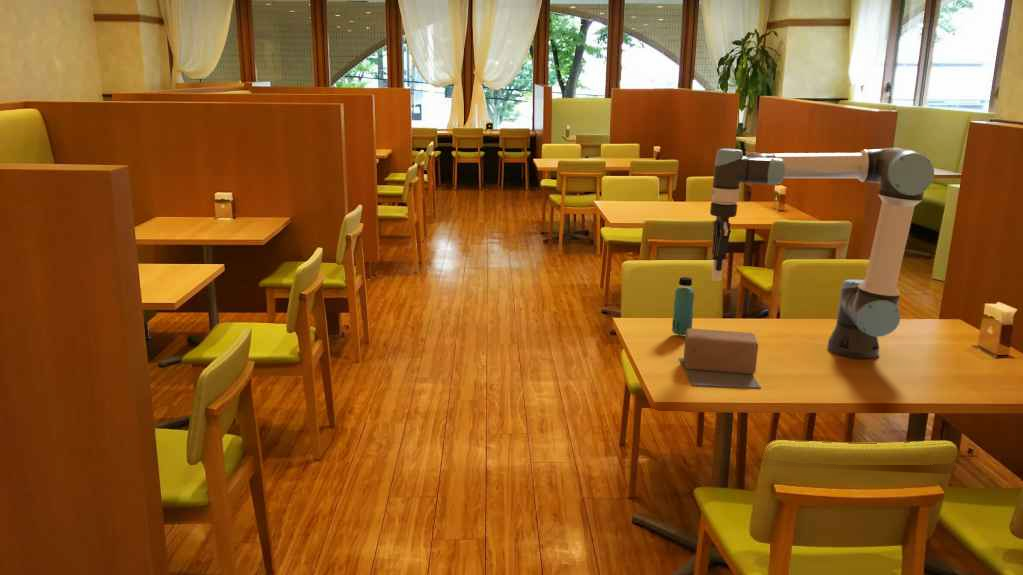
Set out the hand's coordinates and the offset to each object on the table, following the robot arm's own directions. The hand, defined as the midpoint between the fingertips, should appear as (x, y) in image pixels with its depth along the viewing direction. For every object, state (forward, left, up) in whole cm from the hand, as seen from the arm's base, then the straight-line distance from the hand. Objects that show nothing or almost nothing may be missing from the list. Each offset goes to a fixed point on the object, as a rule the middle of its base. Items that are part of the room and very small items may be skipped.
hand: (716, 280), depth 246 cm
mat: (0, +15, -24) cm, 28 cm away
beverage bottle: (+6, -18, -24) cm, 31 cm away
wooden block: (-11, +12, -19) cm, 25 cm away
